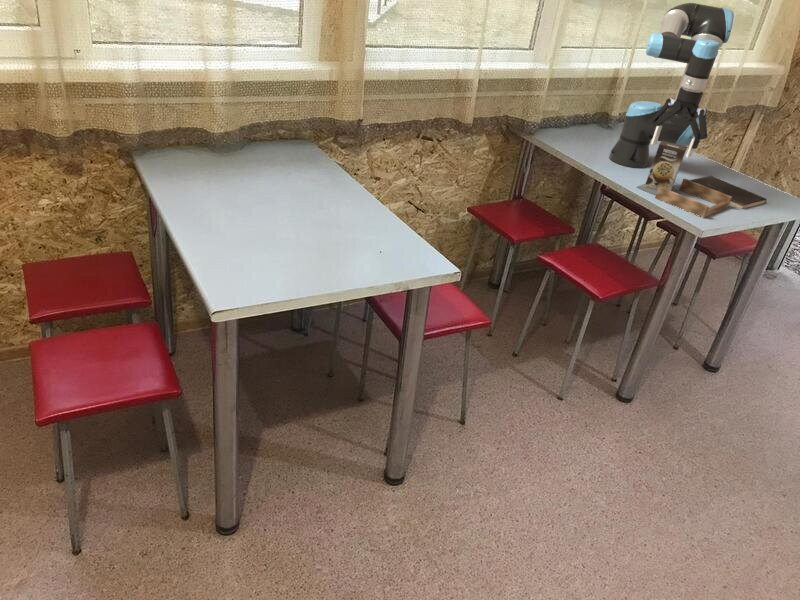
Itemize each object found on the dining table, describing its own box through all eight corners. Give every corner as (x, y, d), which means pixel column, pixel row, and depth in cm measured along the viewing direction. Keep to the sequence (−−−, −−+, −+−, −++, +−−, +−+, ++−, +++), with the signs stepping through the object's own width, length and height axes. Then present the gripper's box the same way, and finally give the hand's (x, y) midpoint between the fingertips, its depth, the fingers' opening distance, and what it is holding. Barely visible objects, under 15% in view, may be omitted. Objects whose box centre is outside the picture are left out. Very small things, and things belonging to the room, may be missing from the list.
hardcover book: (740, 210, 230) (743, 204, 229) (685, 186, 245) (687, 180, 244) (764, 204, 238) (767, 198, 237) (709, 181, 254) (711, 175, 252)
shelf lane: (655, 198, 229) (658, 187, 227) (681, 188, 240) (685, 178, 238) (702, 218, 218) (707, 207, 216) (728, 207, 229) (732, 196, 227)
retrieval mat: (636, 187, 236) (636, 186, 235) (656, 181, 244) (656, 180, 244) (658, 196, 230) (658, 195, 230) (677, 189, 239) (678, 188, 238)
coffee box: (643, 186, 236) (658, 143, 227) (647, 182, 241) (661, 139, 232) (669, 194, 233) (685, 150, 224) (672, 189, 238) (687, 146, 229)
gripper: (653, 80, 223) (634, 140, 235) (722, 101, 209) (698, 164, 220) (664, 78, 228) (645, 137, 239) (732, 98, 213) (708, 160, 225)
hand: (670, 150), depth 230 cm, fingers open, 13 cm apart
